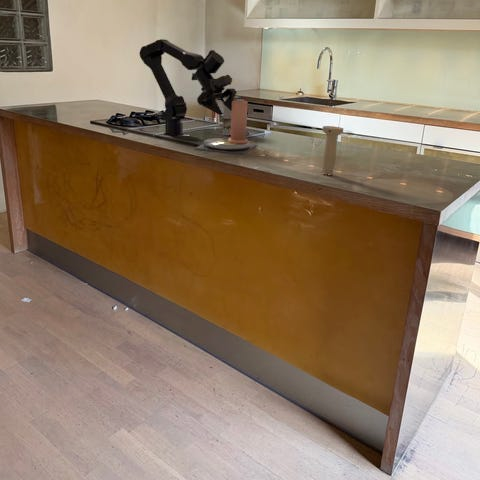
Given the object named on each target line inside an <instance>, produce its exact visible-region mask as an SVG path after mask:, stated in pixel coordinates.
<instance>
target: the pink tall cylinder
mask: <svg viewBox="0 0 480 480" xmlns="http://www.w3.org/2000/svg"><path fill="white" fill-rule="evenodd" d="M247 121H248V101H246V100H244V99H242V100H241V99H236V101H232V112H231V136H230V137H227V138H228V142H229V143H234V144H246V143H248V142H249V141H248V140H249V139H248V138H246V137H247V124H248V123H247Z"/></svg>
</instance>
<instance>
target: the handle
mask: <svg viewBox="0 0 480 480" xmlns="http://www.w3.org/2000/svg"><path fill="white" fill-rule="evenodd" d="M321 130H322V132H323V133H324V134H326V135H325V136H326V139H325V144H324V150H323V154H322V155H323V156H322V170H321V171H322V172H323V173H325V174H332V173H333V174H334V169H335V166H336V160H337V145H338V136H339V135H342V134H343V132H344V128H343V127H339V126H332V125H331V126H330V125H323V126H322V129H321ZM323 173H322V174H323ZM333 174H332V175H333Z"/></svg>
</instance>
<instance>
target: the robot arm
mask: <svg viewBox="0 0 480 480" xmlns="http://www.w3.org/2000/svg"><path fill="white" fill-rule="evenodd" d="M164 54H168V55H169V56H170V57H173V58H174V59H175V60H178V61H179V62H180V63H181V65H182V66H183V67H184V68H185V69H186V70H188V71H195V72H192V76H191V81H198V83H199V84H200V86H201V88H200V90H201V92H200V94H199V95H198V97H197V99H196V102H197V104H198V105H199V106H201V107H204V108H206V109H208V110H211V112H213V113H215V114H217V115H219V116H223V111H222V110H221V107H220V106H219V105H218V103H217V100H220V102H222V103H223V106H224V105H225V106H226V107H227V108H229V109H230V110H231V111H232V101H234V97H235V96H236V94H237V93H238V92H237V91H236V89H235V88H234V87H233V88H231V87H230V88H226V87H227V86H230V85H232V82H233V78H232V77H231V75H229V74H225V75H222V76H221V75H220V76H219V77H217V78H214V76H213V75H212V74H217V72H218V71H219V69H220V68H221V67H222V66H223V65H224V63H225V59H224V57H223V56H222V55H221V54H220V53H218V52H216V51H215V50H214V49H211V50H209V52H208V54H207V55H206V56H205V57H204V56H203V55H201V54H198V53H194V52H189V51H188V50H187V51H186V50H184V49H183V48H181V47H179V46H178V45H176V44H174V43H172V42H171V41H170V40H168V39H164V38H161V39H160V38H158V39H157V40H155V41H154V42H151V43H149V44H146V45H144V46H143V45H142V47H140V50H139V57H140V59H141V61H142V62H143V64H144V65H145V66H147V67H148V68H149V69H150V71H151V72H152V75H153V76H154V78H155V80H156V82H157V84H158V87H159V89H160V91H161V93H162V95H163V98H164V99H165V100H164V108H165V110H164V111H163V112H162V114H161V118H162V120H163V121H165V123H164V124H165V127H164V129H165V131H164V132H163V135H166V134H170V135H169V136H176V135H178V136H180V134H181V135H183V134H184V132H183V125H184V124H183V123H182V120H185V118H186V113H187V110H188V107H187V103H186V101H185V99H184V97H183V95H179V96H178V95H177V94H176V91H175V90H174V88H173V86H172V84H171V81H170V79H169V77H168V75H167V73H166V71H165V68H164V66H163V63H162V60H163V57H162V56H163V55H164ZM225 88H226V89H225Z"/></svg>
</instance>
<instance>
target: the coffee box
mask: <svg viewBox="0 0 480 480" xmlns="http://www.w3.org/2000/svg"><path fill="white" fill-rule="evenodd" d="M242 98H243V97H242V96H238V95H237V96H236V95H235V97H234V101H236V99H241V100H243V99H242ZM231 112H232V111H231V110H230V109H229V108H227V107H226V106H225V105H224V104H223V112H222V118H223V120H222V135H223V136H229V135H231Z"/></svg>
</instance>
